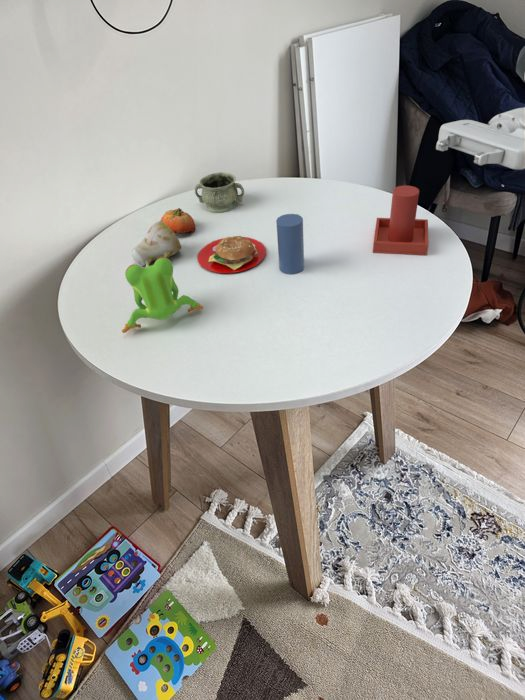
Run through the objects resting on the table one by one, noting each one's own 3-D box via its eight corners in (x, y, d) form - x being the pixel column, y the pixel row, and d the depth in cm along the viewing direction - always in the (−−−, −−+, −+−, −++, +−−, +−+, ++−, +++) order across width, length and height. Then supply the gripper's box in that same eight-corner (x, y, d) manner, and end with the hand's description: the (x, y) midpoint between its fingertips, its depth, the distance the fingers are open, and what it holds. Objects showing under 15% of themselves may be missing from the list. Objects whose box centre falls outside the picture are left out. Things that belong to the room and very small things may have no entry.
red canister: (417, 238, 98) (424, 190, 91) (401, 247, 96) (407, 198, 89) (399, 230, 101) (404, 183, 94) (382, 238, 99) (387, 191, 92)
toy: (193, 291, 91) (183, 244, 84) (207, 318, 85) (197, 268, 78) (116, 314, 88) (100, 266, 81) (125, 343, 81) (108, 294, 75)
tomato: (193, 233, 104) (168, 208, 102) (173, 253, 108) (148, 229, 106) (203, 221, 111) (179, 197, 109) (184, 240, 114) (161, 217, 112)
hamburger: (279, 247, 100) (277, 220, 96) (239, 281, 92) (236, 254, 88) (224, 232, 107) (221, 207, 103) (183, 263, 98) (177, 237, 94)
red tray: (426, 229, 101) (427, 219, 99) (426, 255, 94) (428, 244, 92) (376, 227, 103) (376, 217, 102) (372, 252, 96) (373, 242, 94)
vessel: (248, 196, 119) (246, 171, 115) (242, 213, 113) (239, 187, 109) (201, 197, 121) (197, 172, 117) (192, 213, 115) (187, 188, 111)
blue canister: (306, 261, 96) (305, 214, 89) (301, 275, 92) (300, 226, 85) (282, 260, 97) (279, 213, 90) (277, 273, 93) (273, 225, 87)
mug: (125, 263, 101) (131, 214, 98) (170, 268, 106) (177, 222, 103) (135, 270, 95) (142, 218, 92) (182, 276, 100) (190, 227, 97)
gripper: (470, 107, 102) (420, 123, 98) (559, 131, 88) (506, 150, 84) (464, 138, 106) (416, 154, 102) (548, 165, 93) (497, 185, 88)
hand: (457, 153), depth 93 cm, fingers open, 8 cm apart
